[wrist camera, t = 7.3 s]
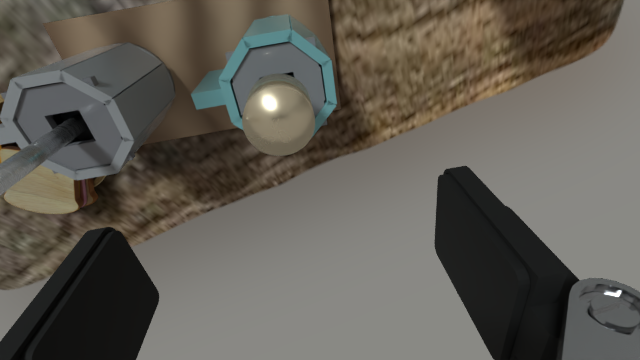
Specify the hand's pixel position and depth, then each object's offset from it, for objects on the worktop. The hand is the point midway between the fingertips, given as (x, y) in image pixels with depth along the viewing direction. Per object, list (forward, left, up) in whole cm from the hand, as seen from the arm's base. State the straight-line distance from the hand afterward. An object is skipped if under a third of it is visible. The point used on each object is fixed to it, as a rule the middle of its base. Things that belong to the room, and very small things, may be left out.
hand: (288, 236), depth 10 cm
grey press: (+17, 0, -28) cm, 32 cm away
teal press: (+2, 0, -28) cm, 28 cm away
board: (+8, 0, -29) cm, 30 cm away
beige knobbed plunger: (0, 0, -26) cm, 26 cm away
